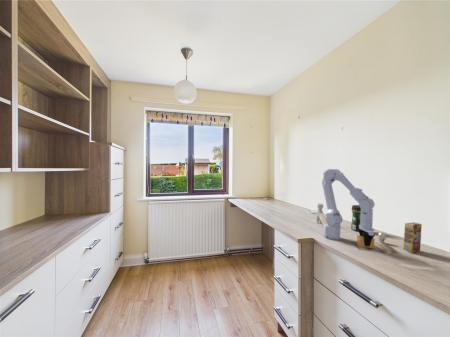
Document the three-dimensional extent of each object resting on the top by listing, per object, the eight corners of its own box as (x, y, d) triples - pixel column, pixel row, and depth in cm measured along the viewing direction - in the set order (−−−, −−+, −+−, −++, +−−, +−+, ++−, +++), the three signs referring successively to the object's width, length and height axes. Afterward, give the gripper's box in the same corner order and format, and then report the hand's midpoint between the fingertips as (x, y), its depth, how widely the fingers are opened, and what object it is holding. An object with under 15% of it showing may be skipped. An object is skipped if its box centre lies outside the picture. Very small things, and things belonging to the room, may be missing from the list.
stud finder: (359, 246, 117) (360, 237, 117) (357, 244, 121) (357, 235, 121) (374, 248, 116) (374, 238, 116) (370, 245, 120) (371, 236, 120)
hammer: (333, 219, 144) (322, 203, 173) (326, 219, 145) (316, 202, 174) (331, 240, 148) (321, 220, 177) (324, 239, 149) (315, 220, 177)
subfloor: (360, 253, 111) (360, 251, 111) (348, 241, 129) (348, 239, 129) (405, 258, 106) (405, 256, 106) (386, 245, 124) (386, 243, 124)
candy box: (412, 253, 113) (413, 225, 113) (402, 250, 117) (403, 223, 117) (421, 251, 117) (422, 223, 117) (411, 248, 121) (412, 221, 121)
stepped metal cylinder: (379, 245, 124) (380, 233, 124) (377, 243, 127) (377, 231, 127) (386, 246, 123) (386, 234, 123) (383, 244, 127) (384, 232, 127)
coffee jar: (361, 229, 159) (362, 204, 159) (368, 232, 151) (369, 206, 151) (348, 228, 159) (349, 204, 159) (355, 231, 151) (356, 205, 151)
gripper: (380, 224, 111) (379, 250, 111) (368, 218, 125) (368, 241, 125) (365, 222, 112) (364, 248, 112) (355, 217, 126) (354, 239, 126)
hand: (365, 244), depth 119 cm, fingers closed on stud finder, 4 cm apart
